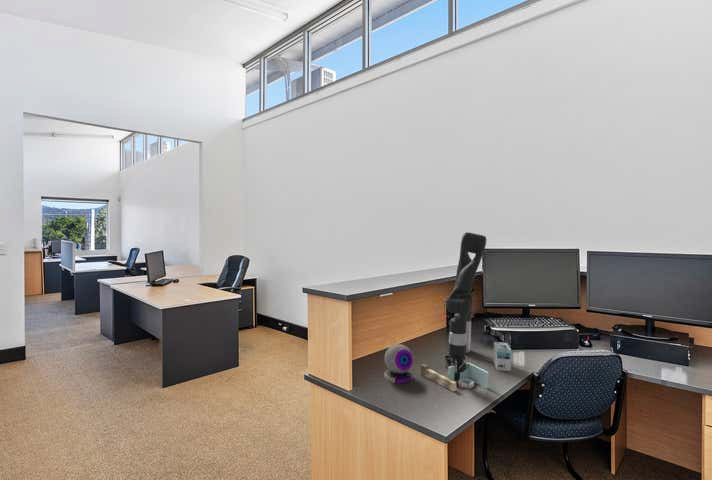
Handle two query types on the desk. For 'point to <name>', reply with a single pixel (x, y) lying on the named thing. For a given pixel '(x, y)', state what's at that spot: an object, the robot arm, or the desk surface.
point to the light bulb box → (502, 356)
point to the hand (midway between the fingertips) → (456, 379)
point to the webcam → (398, 364)
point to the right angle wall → (470, 376)
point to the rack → (438, 377)
